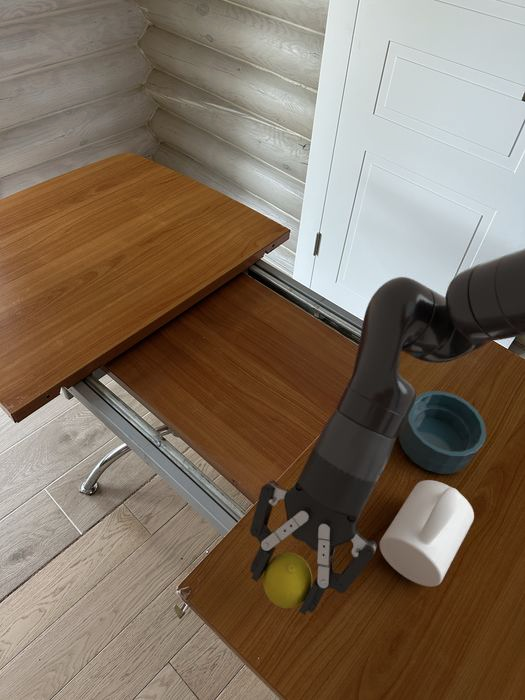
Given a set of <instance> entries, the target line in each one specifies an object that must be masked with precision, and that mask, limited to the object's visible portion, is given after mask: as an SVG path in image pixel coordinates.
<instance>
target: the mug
mask: <svg viewBox="0 0 525 700" xmlns="http://www.w3.org/2000/svg"><path fill="white" fill-rule="evenodd" d="M474 519H475V513H474V509H473V507H472V505H471V503H470V502H469V501H468V499H467V498H465V496H463V494H462V493H460V492H459V490H458V489H456V488H454V487H452V486H449V485H448V484H446V483H443V482H440V481H437V480H430V479H426V480H420V481H419V482H418V483H416V484H415V485H414V487H413V488H412V490H411V492H410V493H409V495H408V497H407V499H405V501H404V503H403V505H402V506H401V507H400V509H399V511H398V512H397V513H396V516H395V517H394V519H393V520H392V522H391V523H390V525H389V526H388V527H387V529H386V531H385V533H384V534H383V536H382V537H381V539H380V540H379V550H380V552H381V554H382V556H383V558H384V559H385V561H386V562H387V563H388V565H390V566H391V567H392V568H393V570H395V571H396V572H397V573H398V574H400V575H401V576H403V577H404V578H406V579H407V580H409V581H411V582H413V583H415V584H416V585H417V584H418V585H420V586H423V587H431V588H432V587H437V586H439V585H441V583H442V582H443V580H444V578H445V576H446V574H447V572H448V570H449V568H450V566H451V564H452V563H453V560H454V559H455V557H456V555H457V554H458V551H459V549H460V547H461V545H462V543H463V542H464V539H465V538H466V536H467V534H468V532H469V530H470V528H471V526H472V525H473V522H474Z"/></svg>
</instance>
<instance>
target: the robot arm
mask: <svg viewBox="0 0 525 700" xmlns="http://www.w3.org/2000/svg"><path fill="white" fill-rule="evenodd" d="M359 336H360V337H359V340H358V341H359V342H358V347H357V352H356V355H355V360H354V366H353V370H352V372H351V373H352V374H351V376H350V378H349V381H348V383H347V385H346V386H345V388H344V390H343V393H342V395H341V397H340V399H339V401H338V403H337V405H336V407H335V409H334V410H333V412H332V414H331V415H330V416H329V418H328V420H327V421H326V423H325V424H324V426H323V428H322V430H321V432H320V434H319V435H318V438H317V440H316V441H315V444H314V446H313V448H312V450H311V452H310V454H309V456H308V458H307V459H306V462H305V464H304V466H303V468H302V470H301V471H300V475H299V476H298V478H297V480H296V482H295V484H294V485H293V486H292V487H290V488H289V489H287V488H285V487H282V486H279V483H278V482H276V481H275V480H271V481H269V482H267V483H266V484H264V485H262V487H260V488H261V489H260V493H259V496H258V499H257V502H256V507H255V510H254V514H253V517H252V521H251V525H250V528H249V533H250V535H251V536H252V537H254V538H256V540H257V541H258V542H259V548H258V550H257V552H256V554H255V557H254V559H253V560H252V563H251V565H250V567H249V571H250V573H252V575H251V580H253V581H255V582H258V581H259V580H260V579H261V578H262V577H263V576H264V572H265V569H266V567H267V565H268V563H269V562H270V561H271V560H272V558H273V556H274V553H275V551H276V549H277V548H276V545H278V544H279V543H281V542H282V541H283V540H285V539H286V538H287V537H289V536H290V535H291V537H292V538H294V539H296V540H297V541H300V542H303V543H305V544H306V545H307V546H308V548H310V549H312V550H313V551H315V552H317V561H316V562H317V563H316V564H317V576H316V578H315V579H314V582H312V587H311V589H310V591H309V593H308V595H307V597H306V599H305V601H304V602H303V603H302V604H301V606H300V609H299V610H298V612H299V613H301V614H302V615H304V616H306V614H307V612H309V613H310V614H312V613H313V612H315V611H316V609H317V608H318V605H319V603H320V602H321V600H322V598H323V595H324V594H325V592H326V591H327V590H328V589H332V590H335V591H336V592H337V593H339V594H343V593H345V592H346V591H347V590H348V588H350V586H351V585H352V584H353V582H354V581H356V579H357V577H358V576H359V575H360V574H361V573H362V572H363V570H364V569H365V568H366V567H367V565H368V564H369V563H370V562H371V560H372V559H373V558H374V556H375V554H376V551H377V548H378V545H377V543H376V541H374V540H371V539H369V540H368V539H367V538H366V537H365V536H364V535H362V534H361V533H360V532H358V522H359V519H360V516H361V515H362V512H363V511H364V508H365V506H366V505H367V502H368V501H369V498H370V496H371V495H372V493H373V491H374V490H375V489H374V488H375V487H376V485H377V482H378V481H379V479H380V477H381V476H382V475H383V473H384V471H385V467H386V465H387V463H388V461H389V459H390V457H391V454H392V451H393V448H394V446H395V443H396V440H397V438H398V437H399V432H400V430H401V428H402V426H403V424H404V422H405V421H406V419H407V417H408V415H409V413H410V411H411V409H412V406H413V404H414V401H415V398H416V397H417V391H416V388H415V386H414V385H413V384H412V383H411V382H410V381H408V380H407V379H406V378H405V377H404V376H402V375H401V373H400V361H401V353H404V354H406V355H408V356H410V357H412V358H414V359H417V360H418V361H421V362H425V363H431V364H433V363H435V364H441V363H448V362H452V361H456V360H458V359H460V358H463V357H464V356H466V355H468V354H470V353H472V352H475V351H477V350H478V349H480V348H482V347H484V346H486V345H487V344H489V343H491V342H493V341H501V340H506V339H511V338H518V337H522V336H525V248H522V249H519V250H515V251H513V252H510V253H507V254H505V255H501V256H498V257H495V258H493V259H490V260H487V261H485V262H482V263H479V264H475V265H473V266H471V267H468V268H466V269H464V270H462V271H460V272H459V273H457V274H456V275H455V276H454V277H452V279H451V281H450V282H449V284H448V286H447V289H446V293H445V296H444V295H442V294H440V293H438V292H437V291H435V290H433V289H431V288H429V287H428V286H426V285H425V284H423V283H421V282H419V281H417V280H415V279H413V278H411V277H407V276H397V277H394V278H391V279H389V280H388V281H385V282H384V283H383V284H382V285H381V286H379V288H377V290H376V291H375V292H374V293H373V295H372V296H371V298H370V300H369V301H368V304H367V306H366V309H365V312H364V317H363V321H362V326H361V331H360V335H359ZM281 500H283V501H284V507H285V515H286V521H285V522H283V523H281V525H280V526H278V527H277V528H276V529H274V530H273V531H272V530H271V529H270V528H269V527H268V525H269V522H270V518H271V514H272V510H273V507H274V506H277V505H278V504H279V503H280V502H281ZM350 541H351V542H352V549H351V555H352V557H353V558H352V559H351V560H350V562H349V563H348V564H347V566H346V567H345V568H344V569H343V571H342V572H341V573H340V572H336V571H334V564H335V557H336V555H335V554H336V547H338V546H341V545H343V544H346V543H348V542H350Z"/></svg>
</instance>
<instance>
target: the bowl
mask: <svg viewBox="0 0 525 700" xmlns="http://www.w3.org/2000/svg"><path fill="white" fill-rule="evenodd" d="M486 436H487V430H486V424H485V422H484V419H483V418H482V416H481V414H480V412H479V411H478V410H477V409H476V408H475V407H474V406H473V405H472V404H471V403H470V402H469V401H468V400H465V399H464V398H462V397H460V396H459V395H456V394H455V393H451V392H447V391H441V390H429V391H426V392H422V393H419V394H418V395H416V398H415V401H414V404H413V406H412V409H411V411H410V413H409V415H408V417H407V419H406V421H405V422H404V424H403V426H402V428H401V430H400V432H399V434H398V441H399V443H400V445H401V448H402V450H403V452H404V454H406V455H407V457H408V458H409V459H410V460H411V461H412V462H413V463H414V464H416V465H417V466H419V467H420V468H422V469H424V470H426V471H429V472H432V473H436V474H438V475H439V474H440V475H441V474H442V475H443V474H444V475H446V474H447V475H449V474H450V475H452V474H455V473H457V472H461V471H463V470H464V469H465V468H466V467H467V466H468V465H469V464H470V463H471V462H472V460H473V459H474V458H475V457H476V456H477V454H478V452H479V451H480V449H482V447H483V445H484V443H485V440H486Z"/></svg>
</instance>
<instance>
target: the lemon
mask: <svg viewBox="0 0 525 700" xmlns="http://www.w3.org/2000/svg"><path fill="white" fill-rule="evenodd" d="M312 585H313V574H312V570H311V568H310V565H309V563H308V562H307V561H306V559H305V558H303V557H302V556H301V555H299V554H297V553H295V552H290V551H289V552H282V553H279V554H277V555H275V556H274V557H272V558H271V559H270V561H269V563H268V565H267V567H266V569H265V571H264V573H263V575H262V586H263V589H264V593H265V594H266V597H267V598H268V600H270V602H271V603H272V604H274V605H275V606H277V607H279V608H282V609H293V608H296V607H299V606H300V605H303V603H304V601H305V599H306V597H307V595H308V593H309V591H310V589H311V587H312Z"/></svg>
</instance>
